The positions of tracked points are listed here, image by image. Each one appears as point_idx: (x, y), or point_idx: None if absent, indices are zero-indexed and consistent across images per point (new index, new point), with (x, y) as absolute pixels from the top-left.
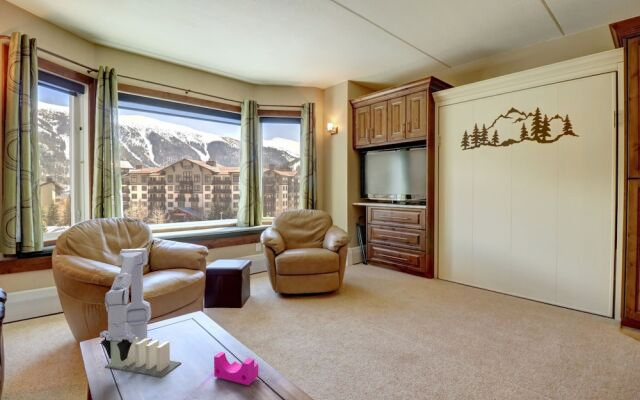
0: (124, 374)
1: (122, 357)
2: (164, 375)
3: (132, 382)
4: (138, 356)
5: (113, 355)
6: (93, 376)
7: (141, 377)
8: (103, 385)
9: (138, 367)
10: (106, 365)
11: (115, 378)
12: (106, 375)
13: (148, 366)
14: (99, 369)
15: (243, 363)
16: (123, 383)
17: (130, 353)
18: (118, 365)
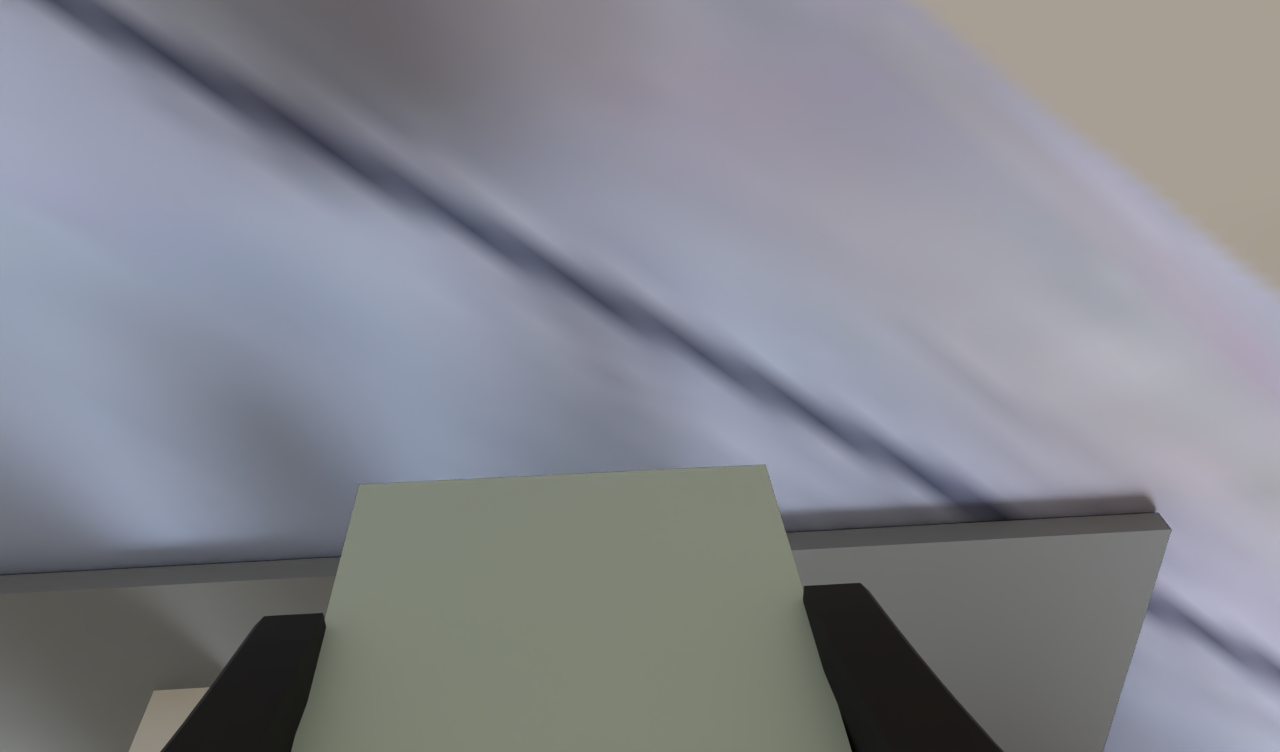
0: (527, 455)
1: (200, 715)
2: None
3: (40, 298)
4: None
5: (699, 707)
6: (1147, 214)
7: (62, 481)
8: (587, 4)
9: None
10: (1152, 549)
11: (577, 299)
12: (882, 323)
13: (158, 734)
14: (1215, 432)
15: None
16: (197, 210)
17: None
18: (480, 500)
